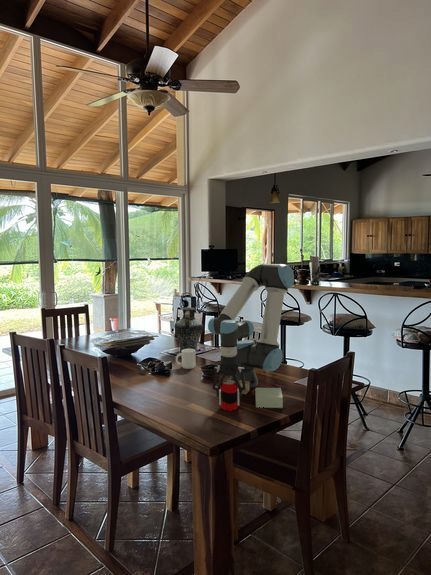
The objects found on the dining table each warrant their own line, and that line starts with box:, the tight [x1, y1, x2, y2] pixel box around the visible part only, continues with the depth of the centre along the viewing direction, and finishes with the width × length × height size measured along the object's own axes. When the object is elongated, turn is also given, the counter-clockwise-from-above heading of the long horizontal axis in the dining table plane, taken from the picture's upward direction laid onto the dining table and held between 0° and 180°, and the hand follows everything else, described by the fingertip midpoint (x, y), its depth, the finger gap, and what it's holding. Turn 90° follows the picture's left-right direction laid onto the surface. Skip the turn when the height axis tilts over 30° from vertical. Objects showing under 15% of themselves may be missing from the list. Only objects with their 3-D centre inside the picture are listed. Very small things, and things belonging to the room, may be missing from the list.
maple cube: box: [238, 380, 250, 395], centre depth 213 cm, size 5×5×5 cm
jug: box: [174, 306, 204, 352], centre depth 291 cm, size 21×19×30 cm
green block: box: [255, 387, 284, 409], centre depth 199 cm, size 12×12×5 cm
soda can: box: [220, 379, 239, 412], centre depth 193 cm, size 8×8×12 cm
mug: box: [175, 349, 196, 370], centre depth 255 cm, size 12×8×10 cm
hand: (229, 404), depth 193 cm, fingers closed on soda can, 7 cm apart
